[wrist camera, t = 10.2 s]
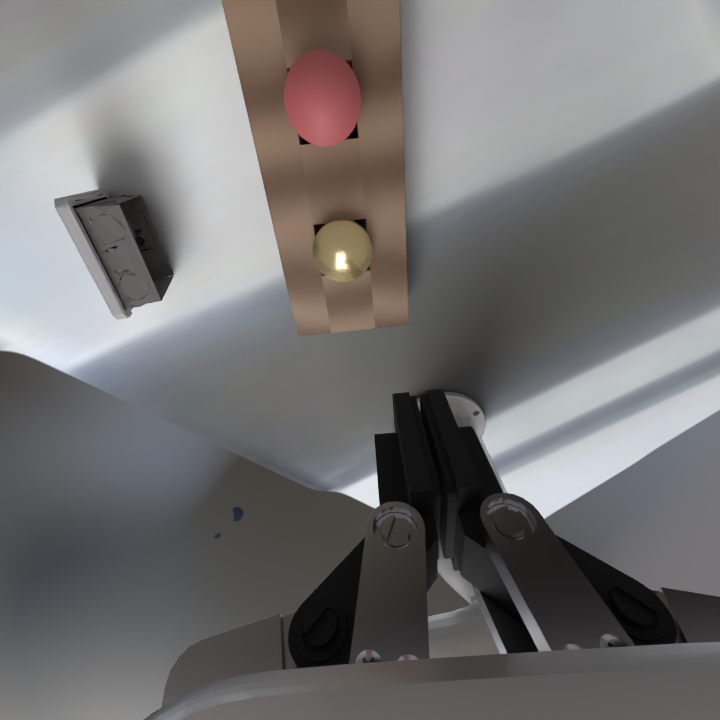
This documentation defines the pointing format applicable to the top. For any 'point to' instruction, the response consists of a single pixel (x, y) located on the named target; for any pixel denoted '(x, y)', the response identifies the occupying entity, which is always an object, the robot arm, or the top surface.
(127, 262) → the electrical switch
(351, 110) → the oxblood plug
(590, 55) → the top surface
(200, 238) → the top surface
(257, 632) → the robot arm
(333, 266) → the brass plug
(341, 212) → the plug block
